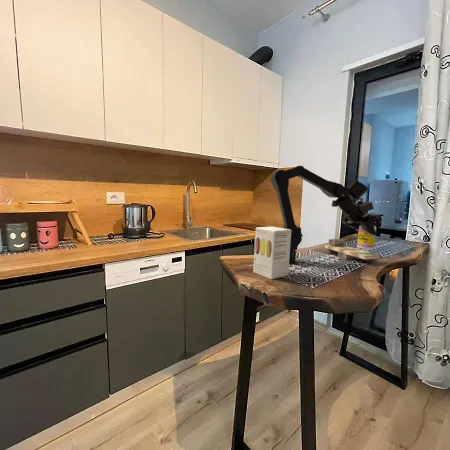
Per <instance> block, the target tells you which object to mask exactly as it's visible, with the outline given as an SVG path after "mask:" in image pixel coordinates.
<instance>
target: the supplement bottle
mask: <svg viewBox="0 0 450 450" xmlns="http://www.w3.org/2000/svg"><path fill="white" fill-rule="evenodd" d="M374 228H375V232H376V233H377V226H375V225H374ZM357 233H358V234H357V241H356V243H357V244H356V247H357V249H360V250H361V249H362V250H369V251H370V250H373V249H375V242H376V235H372V234H370V233H369V232H367V231H365V230H364V229H362V227H361V225H360V226H359V231H358V232H357Z"/></svg>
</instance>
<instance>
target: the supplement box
mask: <svg viewBox="0 0 450 450" xmlns="http://www.w3.org/2000/svg"><path fill="white" fill-rule="evenodd" d="M254 235H255V236H254V248H253V249H254V251H253V267H252V268H253V273H255V274H257V275H259V276H262V277H265V278H268V279H270V280H273V279H277V278H281V277H285V276H289V269H290V267H289V266H290V264H289V257H290V243H291V230H290V229H284V227H283V228H282V227H277V226H260V227H258V226H257V227H255V234H254Z"/></svg>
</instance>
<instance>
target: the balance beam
mask: <svg viewBox="0 0 450 450" xmlns="http://www.w3.org/2000/svg"><path fill="white" fill-rule="evenodd" d="M344 243H345V240H344V239H339V238H332V239H331V238H330V239H328V244H325V246H324V247H325V249H327V253H328V254H337V258H338V259H339V258H340V259H342V260H345V261H348V260H359V259H361V260H362V259H363V260H371V259H374V260H376V259H381V254H377V253H375V252H370V251H367V250H364V249H362V250H361V249H360V248H354V247H350V246H347V245H344Z"/></svg>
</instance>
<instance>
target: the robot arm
mask: <svg viewBox="0 0 450 450" xmlns="http://www.w3.org/2000/svg"><path fill="white" fill-rule="evenodd" d="M296 177H298V178H300V179H301V180H304V181H305V182H307V183H309V184H311V185H313V186H314V187H316V188H318V189H319V190H320V191H321V192H322V193H323V194H324V195H325V196H327V197H328V198H334V199H335V198H336V199H335V200H332V202H331V207H333V208H337V207H339V209H340V210H341V212H342V215H343V216H342V217H341V219H340V220H341V223H342V224H343V225H347V226H348V227H350V228H351V229H355V230H356V231H358V232H359V226H360V225H361V227H362V229H364V230H365V231H367V232H369V233H370V234H372V235H375V236H376V235H377V231H376V232H375V228H374V226H375V224H377V222H378V221H379V220H380V217H378V215H377V214H367V213H368V212H370V211H371V210H374V209H375V208H374V204H373V201H362V200H359V199H361V197H363V196H364V194H366V193H367V192H368V187H367V185H365V184H364V183H362V182H360V181H359V180H354V181H353V182H352V183H351V184H349V186H348V187H345V186H344V185H343V184H341V183H339V182H336V181H331V180H328V179H325V178H323V176H322V177H321V176H320V175H318V174H316V173H314V172H312V171H310V170H309V169H307V168H305V167H304V166H303V165H296V166H293V167H292V168H290V169H287V170H285V169H279V170H275V171H273V172H272V173H271V174H270V181H271V185H272V186H273V189H274V190H275V192H276V194H277V198H278V202H279V203H278V204H279V207H280V212H281V217H282V220H283V228H284V229H290V230H291V243H290V257H289V265H291V264H292V265H293V264H297V258H296V257H297V249H298V246H299V245H300V244H301V243H302V239H303V237H304V236H303V233H302V227H301V226H297V224H296V223H295V222H296V221H295V218H294V214H293V208H292V204H291V200H290V195H289V186H290V185H289V184H290V180H291V179H293V178H296ZM354 201H356V203H355V202H354ZM366 214H367V215H366Z"/></svg>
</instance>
